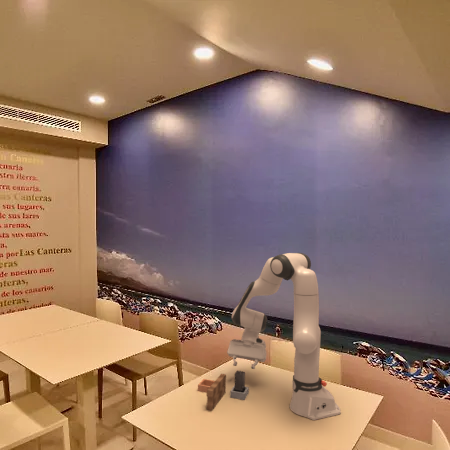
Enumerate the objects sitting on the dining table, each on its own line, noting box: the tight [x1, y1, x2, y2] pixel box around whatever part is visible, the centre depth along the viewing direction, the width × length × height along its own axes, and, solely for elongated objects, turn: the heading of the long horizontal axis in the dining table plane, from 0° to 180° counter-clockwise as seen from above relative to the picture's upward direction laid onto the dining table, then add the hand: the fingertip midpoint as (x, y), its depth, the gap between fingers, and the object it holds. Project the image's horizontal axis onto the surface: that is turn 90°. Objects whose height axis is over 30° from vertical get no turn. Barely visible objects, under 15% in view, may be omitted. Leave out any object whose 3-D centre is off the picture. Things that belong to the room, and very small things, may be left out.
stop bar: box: [234, 370, 246, 393], centre depth 171 cm, size 4×4×11 cm
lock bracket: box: [197, 378, 216, 394], centre depth 177 cm, size 7×7×3 cm
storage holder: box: [229, 384, 250, 401], centre depth 171 cm, size 7×7×3 cm
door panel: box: [206, 373, 227, 412], centre depth 165 cm, size 18×4×9 cm, turn 160°
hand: (243, 366), depth 177 cm, fingers open, 8 cm apart
